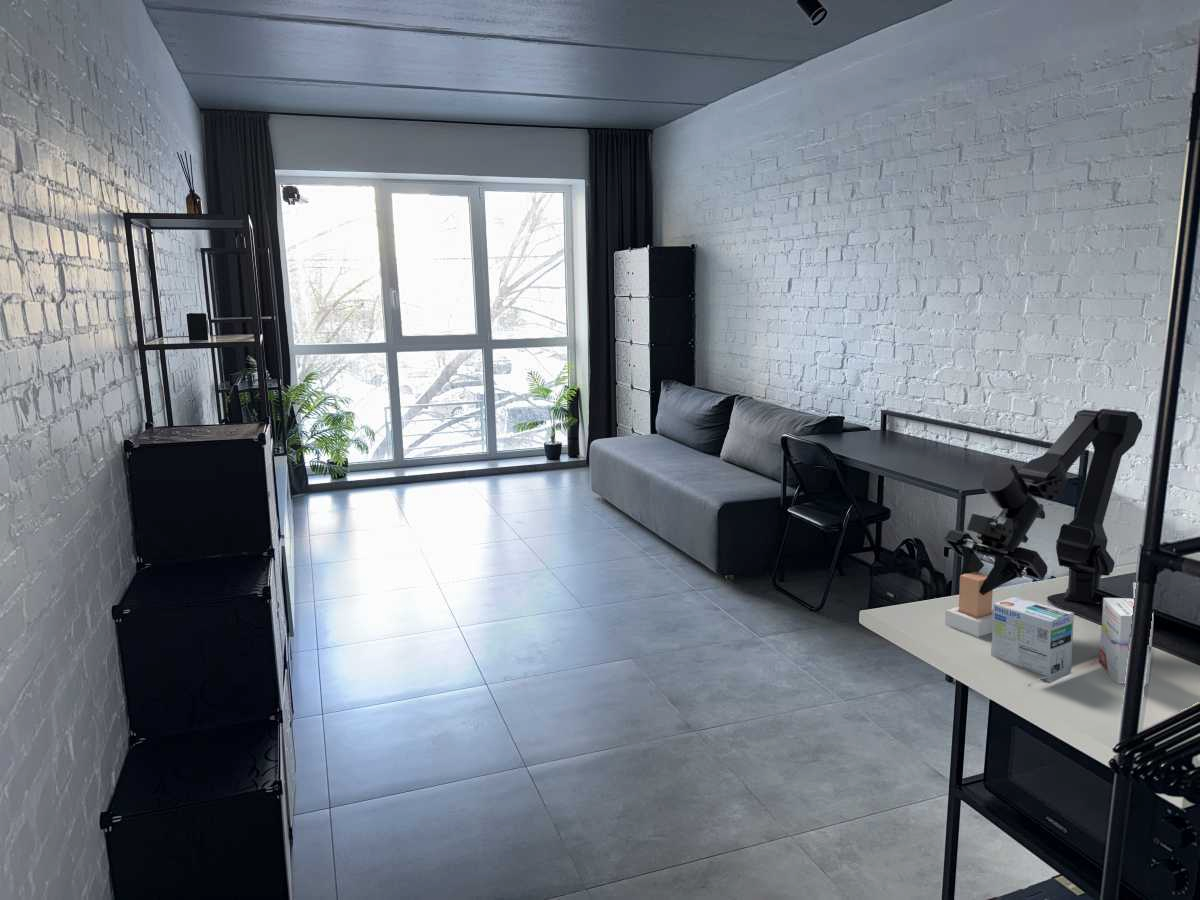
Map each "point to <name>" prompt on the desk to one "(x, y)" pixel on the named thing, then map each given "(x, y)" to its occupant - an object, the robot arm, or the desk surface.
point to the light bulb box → (1033, 636)
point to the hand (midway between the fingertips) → (970, 590)
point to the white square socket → (969, 622)
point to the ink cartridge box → (1118, 636)
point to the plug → (974, 596)
